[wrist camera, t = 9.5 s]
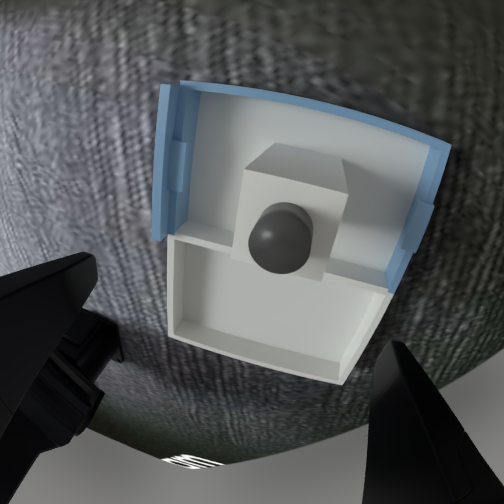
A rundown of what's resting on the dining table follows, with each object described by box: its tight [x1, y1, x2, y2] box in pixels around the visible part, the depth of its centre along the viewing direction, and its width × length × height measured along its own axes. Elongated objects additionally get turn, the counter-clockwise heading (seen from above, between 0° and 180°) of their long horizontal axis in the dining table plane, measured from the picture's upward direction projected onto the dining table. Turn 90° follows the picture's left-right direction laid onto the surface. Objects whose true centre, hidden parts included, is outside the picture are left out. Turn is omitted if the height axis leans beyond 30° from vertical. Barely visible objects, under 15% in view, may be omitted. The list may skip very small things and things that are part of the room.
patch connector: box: [231, 143, 348, 282], centre depth 14 cm, size 4×4×9 cm
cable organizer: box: [152, 80, 451, 385], centre depth 19 cm, size 20×16×4 cm
